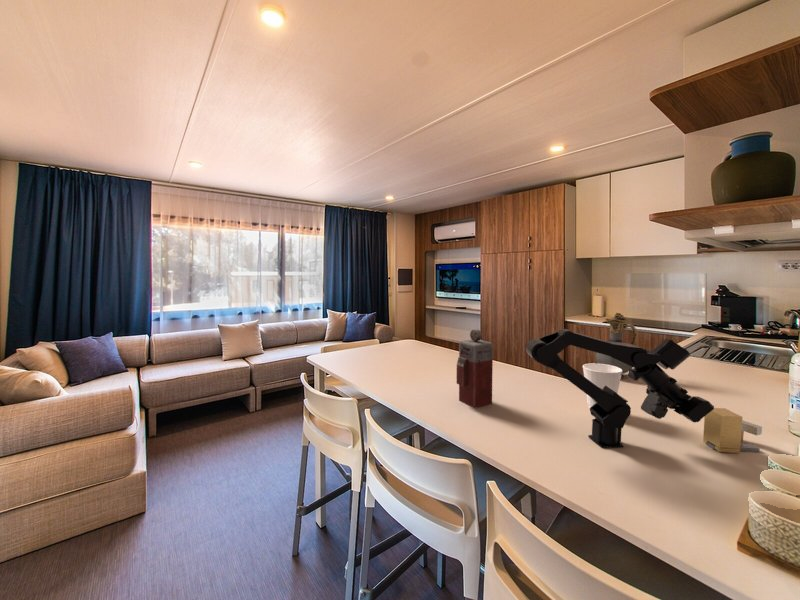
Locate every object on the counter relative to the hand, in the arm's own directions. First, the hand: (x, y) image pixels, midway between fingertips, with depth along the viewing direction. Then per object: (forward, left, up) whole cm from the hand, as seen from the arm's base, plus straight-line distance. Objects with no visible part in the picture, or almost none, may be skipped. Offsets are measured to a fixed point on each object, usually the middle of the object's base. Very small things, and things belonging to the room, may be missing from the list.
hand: (698, 420), depth 92 cm
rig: (+11, +1, -8) cm, 13 cm away
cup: (-12, +24, -8) cm, 28 cm away
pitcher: (+23, +63, -8) cm, 68 cm away
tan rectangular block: (+6, -1, -8) cm, 10 cm away
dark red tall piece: (-54, +36, -8) cm, 65 cm away
